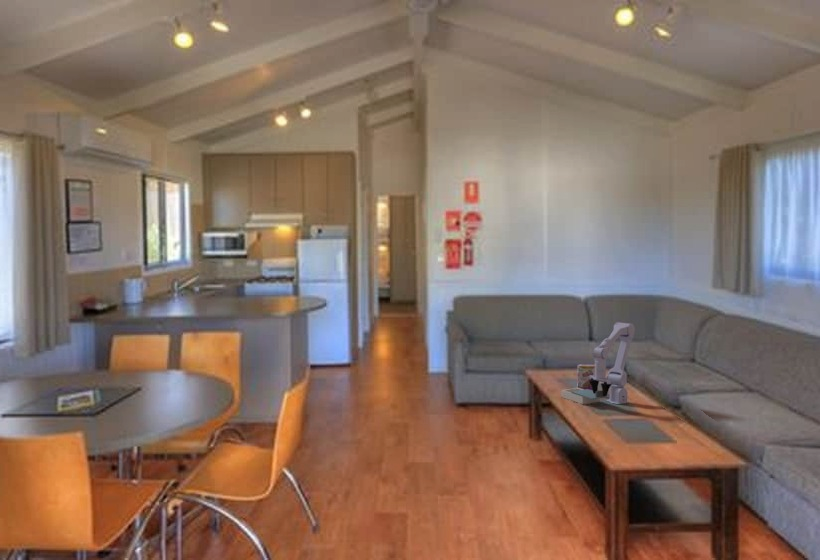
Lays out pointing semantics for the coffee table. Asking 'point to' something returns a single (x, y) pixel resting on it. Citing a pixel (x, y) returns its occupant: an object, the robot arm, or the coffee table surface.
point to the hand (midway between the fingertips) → (600, 394)
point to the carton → (578, 397)
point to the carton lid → (590, 394)
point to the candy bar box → (585, 376)
